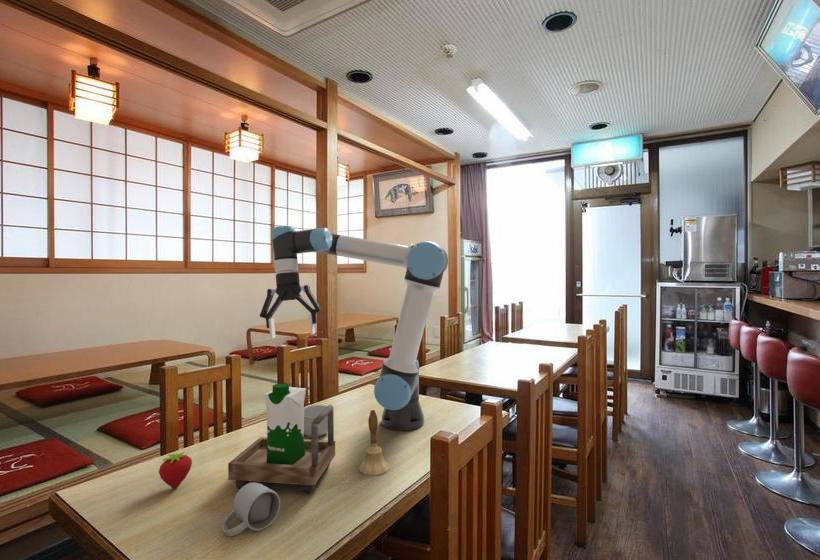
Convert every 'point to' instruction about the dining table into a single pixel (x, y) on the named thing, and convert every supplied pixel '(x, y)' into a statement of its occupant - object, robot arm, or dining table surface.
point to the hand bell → (373, 452)
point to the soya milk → (285, 424)
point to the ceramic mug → (253, 508)
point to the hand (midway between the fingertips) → (292, 336)
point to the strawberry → (175, 469)
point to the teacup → (311, 414)
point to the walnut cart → (301, 472)
